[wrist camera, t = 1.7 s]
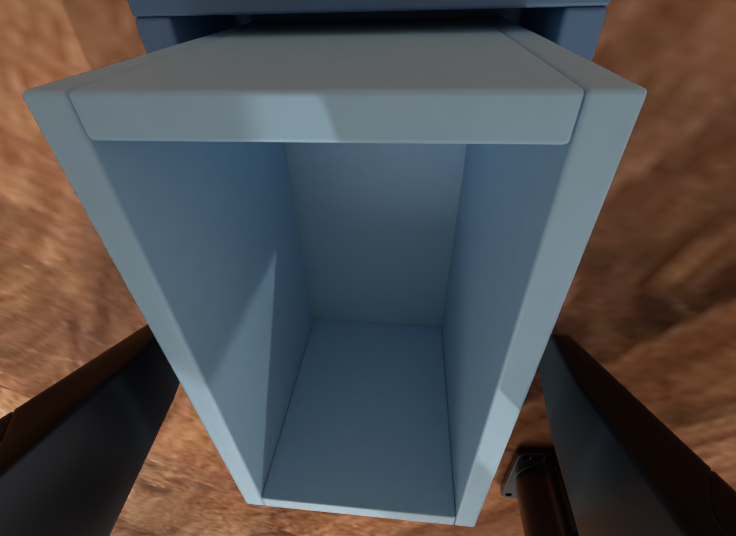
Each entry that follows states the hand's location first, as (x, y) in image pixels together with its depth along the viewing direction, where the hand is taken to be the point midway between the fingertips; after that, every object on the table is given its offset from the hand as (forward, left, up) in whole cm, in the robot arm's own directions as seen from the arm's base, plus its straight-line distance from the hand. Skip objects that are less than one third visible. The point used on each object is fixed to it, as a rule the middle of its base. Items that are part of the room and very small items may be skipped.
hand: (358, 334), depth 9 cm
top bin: (0, 0, -6) cm, 6 cm away
